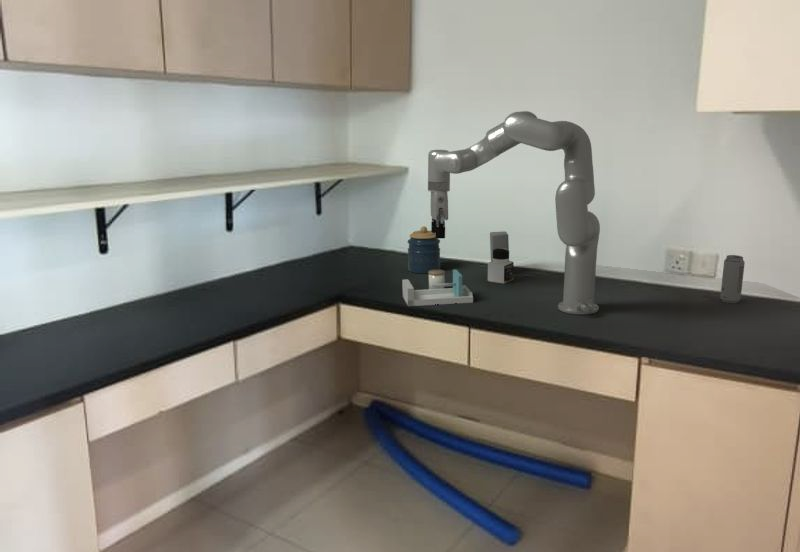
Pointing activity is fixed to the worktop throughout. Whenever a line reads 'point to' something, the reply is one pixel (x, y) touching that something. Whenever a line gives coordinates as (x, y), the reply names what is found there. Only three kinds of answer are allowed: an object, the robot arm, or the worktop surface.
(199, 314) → the worktop surface
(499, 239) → the skincare box
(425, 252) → the canister
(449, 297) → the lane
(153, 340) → the worktop surface
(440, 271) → the jar
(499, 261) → the medicine bottle
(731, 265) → the energy drink can
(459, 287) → the pusher
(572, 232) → the robot arm
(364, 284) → the worktop surface
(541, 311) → the worktop surface
